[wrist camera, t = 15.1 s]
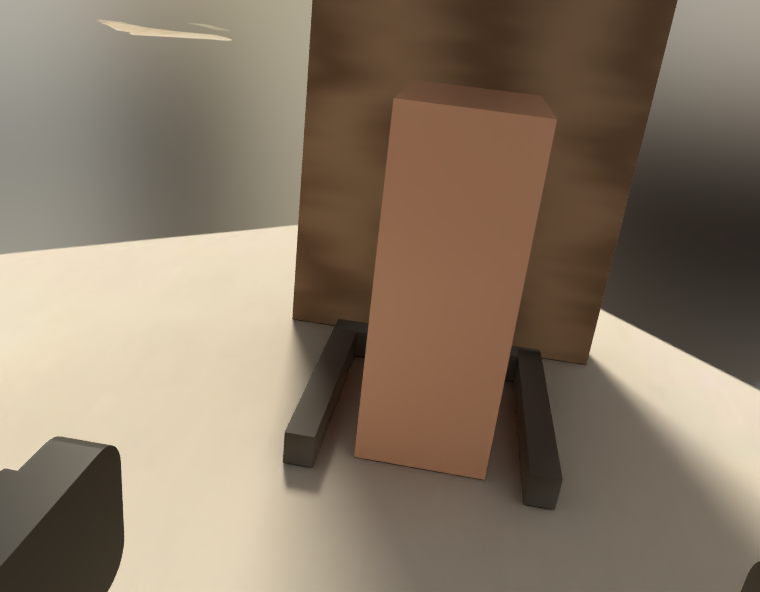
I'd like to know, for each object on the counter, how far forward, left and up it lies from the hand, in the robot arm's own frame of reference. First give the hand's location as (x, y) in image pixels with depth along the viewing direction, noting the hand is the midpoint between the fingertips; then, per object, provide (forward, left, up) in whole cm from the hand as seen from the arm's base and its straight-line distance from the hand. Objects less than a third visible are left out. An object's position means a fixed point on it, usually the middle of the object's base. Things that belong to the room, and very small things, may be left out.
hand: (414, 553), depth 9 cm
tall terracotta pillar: (0, +16, -8) cm, 18 cm away
